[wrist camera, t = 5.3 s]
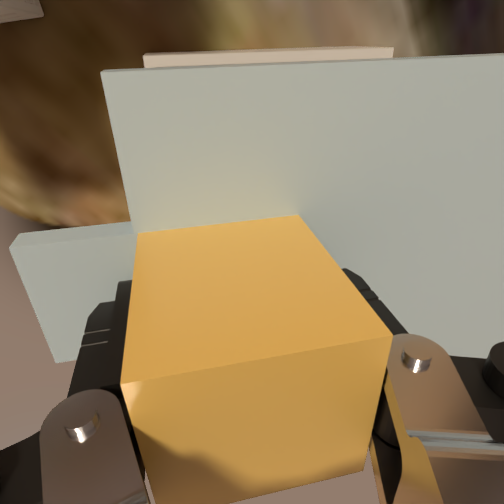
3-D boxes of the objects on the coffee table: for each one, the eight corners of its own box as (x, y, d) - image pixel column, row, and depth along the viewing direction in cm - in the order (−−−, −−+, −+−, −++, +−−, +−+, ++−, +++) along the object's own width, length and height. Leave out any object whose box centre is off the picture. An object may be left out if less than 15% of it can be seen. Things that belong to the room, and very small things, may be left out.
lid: (633, 45, 12) (1077, 52, 6) (516, 317, 18) (689, 452, 12) (-19, 71, 9) (-372, 135, 3) (95, 394, 15) (52, 632, 9)
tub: (353, 46, 29) (393, 47, 24) (339, 179, 35) (370, 203, 30) (145, 53, 27) (142, 56, 21) (167, 196, 32) (168, 226, 27)
